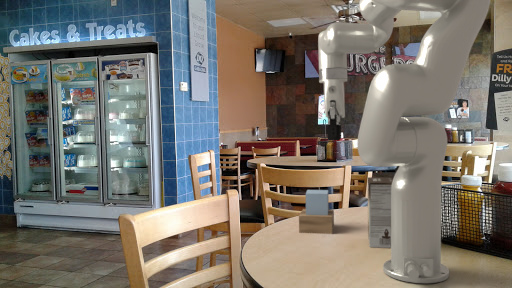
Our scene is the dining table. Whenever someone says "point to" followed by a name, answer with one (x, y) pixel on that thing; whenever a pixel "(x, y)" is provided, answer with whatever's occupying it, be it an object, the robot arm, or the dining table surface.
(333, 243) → the dining table surface
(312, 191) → the slate cube
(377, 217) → the coffee box
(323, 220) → the walnut block
